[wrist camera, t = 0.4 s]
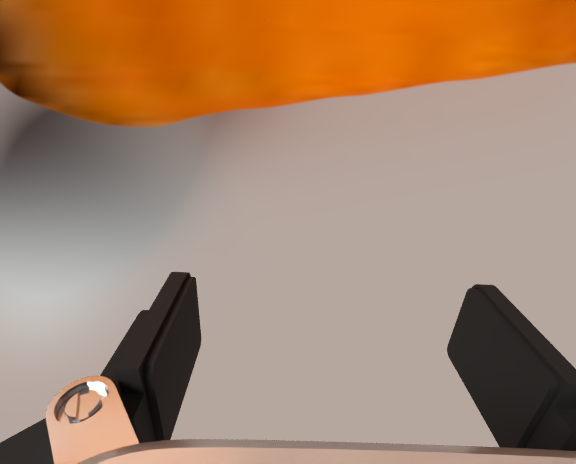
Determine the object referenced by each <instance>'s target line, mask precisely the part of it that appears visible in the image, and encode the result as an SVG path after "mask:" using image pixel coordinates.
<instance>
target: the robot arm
mask: <svg viewBox="0 0 576 464" xmlns="http://www.w3.org/2000/svg"><path fill="white" fill-rule="evenodd" d="M200 345H201V330H200V319H199V308H198V297H197V286H196V278H195V277H191V276H190V273H186V272H185V273H184V272H171V274H170V275H169V277H168V279H167V280H166V282H165V284H164V285H163V287H162V289H161V290H160V292H159V294H158V296H157V297H156V299H155V301H154V302H153V304H152V306H151V308H150V309H149V310H143V311H141V312H140V313H139V314H138V316H137V317H136V319H135V321H134V322H133V324H132V325H131V327H130V329H129V330H128V332H127V333H126V335H125V337H124V338H123V340H122V341H121V343H120V345H119V346H118V348H117V350H116V351H115V353H114V354H113V356H112V358H111V359H110V361H109V362H108V364H107V366H106V367H105V369H104V370H103V372H102V374H101V375H100V376H91V377H85V378H82V379H80V380H77V381H75V382H73V383H71V384H70V385H68V386H66V387H65V388H63V389H62V390H61V391H60V392H59V393H57V394H56V396H55V397H54V398H53V399H52V401H51V402H50V404H49V406H48V408H47V410H46V418H45V419H43V420H41V421H39V422H38V423H36V424H34V425H32V426H30V427H28V428H27V429H25V430H23V431H21V432H19V433H17V434H16V435H14V436H12V437H10V438H8V439H6V440H5V441H3V442H1V443H0V464H576V369H575V368H574V367H573V366H572V365H571V364H570V363H569V362H568V361H567V360H566V359H565V357H563V356H562V355H561V353H560V352H559V351H558V350H557V349H556V348H555V347H554V346H553V345H552V344H550V342H549V341H548V340H547V339H546V338H545V337H544V336H543V335H542V334H541V333H540V332H539V331H538V330H537V329H536V328H535V327H534V326H533V325H532V323H531V322H530V321H529V320H528V319H527V318H526V317H525V316H524V315H523V314H522V313H521V312H520V311H519V310H518V309H517V308H516V307H515V306H514V305H513V304H512V303H511V302H510V301H509V300H508V299H507V298H506V297H505V296H504V295H503V294H502V293H501V292H500V291H499V289H498V288H496V287H495V286H493V285H478V284H476V285H474V286H473V287H472V288H470V289H468V291H467V292H466V295H465V298H464V301H463V304H462V307H461V310H460V312H459V315H458V318H457V321H456V324H455V327H454V329H453V332H452V335H451V338H450V341H449V344H448V347H447V352H448V356H449V358H450V360H451V362H452V363H453V365H454V367H455V369H456V370H457V372H458V374H459V376H460V378H461V379H462V381H463V382H464V385H465V386H466V388H467V390H468V392H469V393H470V395H471V397H472V399H473V400H474V402H475V404H476V406H477V407H478V409H479V411H480V413H481V415H482V416H483V418H484V420H485V422H486V424H487V425H488V427H489V429H490V431H491V432H492V434H493V436H494V438H495V440H496V441H497V443H498V445H499V447H475V446H448V445H447V446H445V445H418V444H388V443H355V442H354V443H353V442H352V443H351V442H319V441H279V440H278V441H277V440H222V439H221V440H220V439H219V440H218V439H217V440H216V439H215V440H212V439H211V440H210V439H186V440H170V439H171V436H172V432H173V429H174V426H175V423H176V420H177V417H178V414H179V411H180V408H181V405H182V401H183V398H184V395H185V392H186V389H187V386H188V383H189V380H190V377H191V374H192V370H193V368H194V364H195V361H196V358H197V355H198V352H199V349H200Z"/></svg>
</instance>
